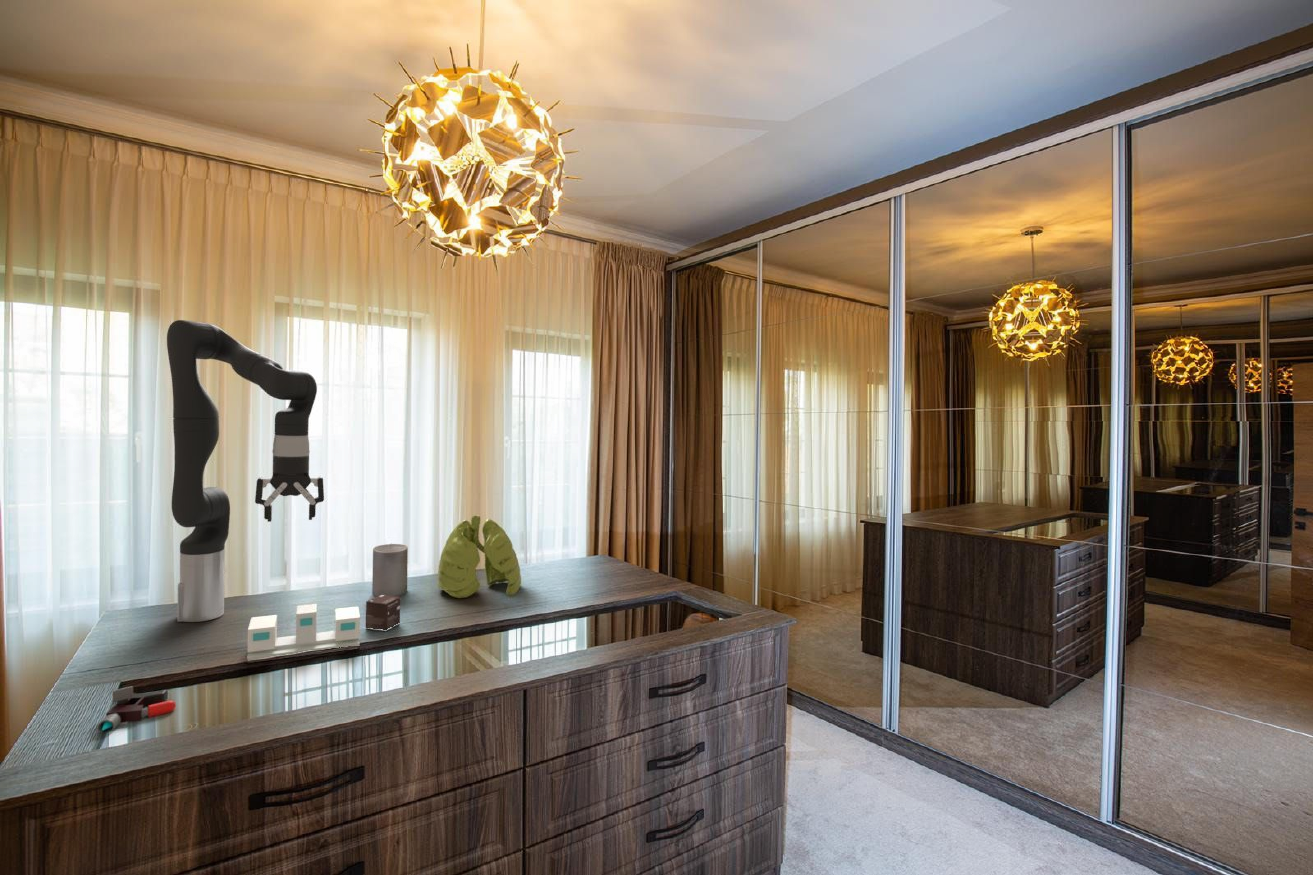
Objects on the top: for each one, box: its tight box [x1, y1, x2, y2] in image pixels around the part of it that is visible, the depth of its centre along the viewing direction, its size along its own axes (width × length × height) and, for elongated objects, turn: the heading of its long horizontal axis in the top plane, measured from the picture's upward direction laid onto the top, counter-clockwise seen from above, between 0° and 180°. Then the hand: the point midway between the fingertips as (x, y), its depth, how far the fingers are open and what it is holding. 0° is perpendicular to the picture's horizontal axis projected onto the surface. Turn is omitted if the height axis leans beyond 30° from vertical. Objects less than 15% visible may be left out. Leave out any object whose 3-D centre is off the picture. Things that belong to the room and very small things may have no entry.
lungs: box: [437, 514, 522, 599], centre depth 190 cm, size 25×16×24 cm, turn 111°
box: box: [365, 595, 401, 630], centre depth 158 cm, size 6×6×7 cm
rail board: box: [246, 606, 361, 660], centre depth 142 cm, size 22×10×7 cm, turn 119°
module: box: [295, 603, 318, 644], centre depth 142 cm, size 4×6×7 cm, turn 29°
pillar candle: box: [371, 543, 409, 597], centre depth 184 cm, size 10×10×15 cm
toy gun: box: [96, 685, 177, 734], centre depth 111 cm, size 10×12×5 cm
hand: (290, 520), depth 149 cm, fingers open, 8 cm apart
